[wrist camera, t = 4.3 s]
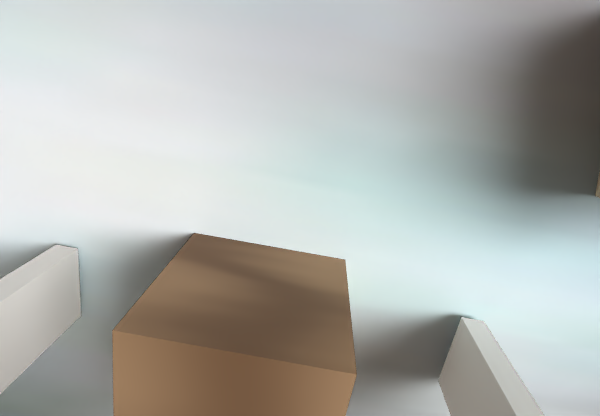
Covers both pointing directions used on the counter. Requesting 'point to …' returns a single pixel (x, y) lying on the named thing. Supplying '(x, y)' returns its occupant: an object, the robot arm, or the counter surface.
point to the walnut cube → (237, 335)
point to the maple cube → (598, 187)
